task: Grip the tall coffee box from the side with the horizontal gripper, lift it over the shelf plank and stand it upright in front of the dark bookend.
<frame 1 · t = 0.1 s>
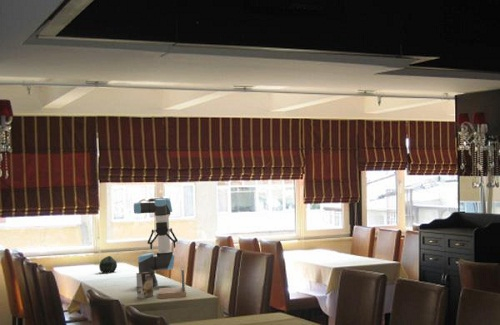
hand: (163, 253, 483), 28 cm above the table, tool pointing down, fingers open, 13 cm apart
shelf plank: (172, 294, 483), on the table
coffee box: (145, 296, 480), on the table
bookend: (183, 289, 483), resting on shelf plank
squash: (108, 272, 620), on the table
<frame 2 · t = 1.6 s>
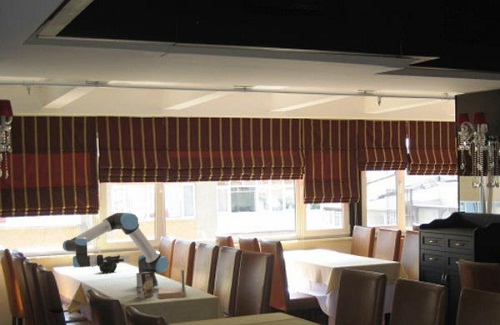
hand: (129, 258, 480), 26 cm above the table, tool horizontal, fingers open, 13 cm apart
nothing on the table moved.
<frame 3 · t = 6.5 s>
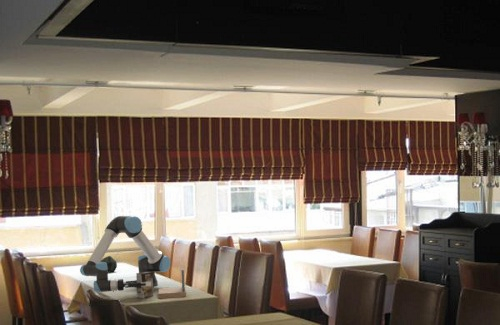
hand: (151, 282, 481), 9 cm above the table, tool horizontal, fingers closed on coffee box, 10 cm apart
coffee box: (145, 296, 480), on the table, touching gripper
everything else where it was.
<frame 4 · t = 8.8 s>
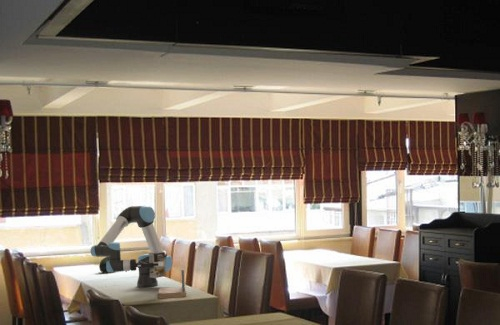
hand: (163, 262, 481), 22 cm above the table, tool horizontal, fingers closed on coffee box, 10 cm apart
coffee box: (157, 277, 480), point 13 cm above the table, touching gripper
everything else where it was.
when the fingers open (13 cm above the table, at t = 11.5 s): coffee box drops 1 cm, resting on shelf plank.
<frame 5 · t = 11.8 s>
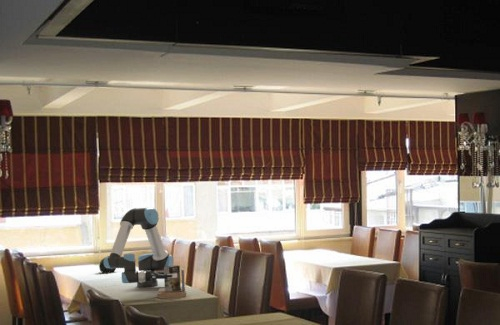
hand: (177, 274, 483), 13 cm above the table, tool horizontal, fingers open, 13 cm apart
coffee box: (172, 290, 483), point 3 cm above the table, touching shelf plank
everything else where it was.
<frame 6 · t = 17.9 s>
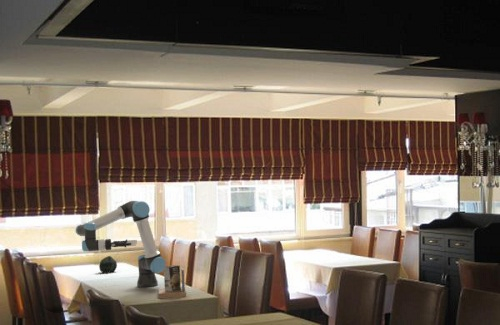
hand: (136, 242, 495), 35 cm above the table, tool horizontal, fingers open, 13 cm apart
nothing on the table moved.
at the end: coffee box inside the target area (0.4 cm from its centre), point 2.8 cm above the table; coffee box tilted 0°; the gripper is holding nothing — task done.
